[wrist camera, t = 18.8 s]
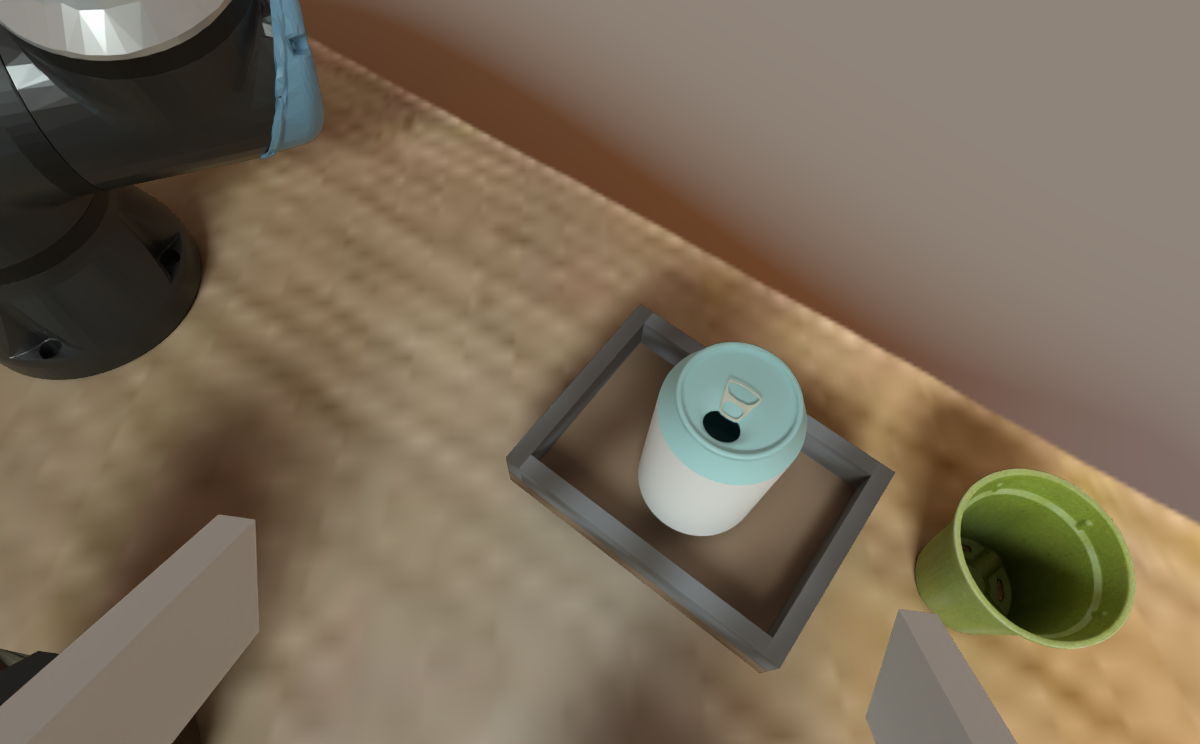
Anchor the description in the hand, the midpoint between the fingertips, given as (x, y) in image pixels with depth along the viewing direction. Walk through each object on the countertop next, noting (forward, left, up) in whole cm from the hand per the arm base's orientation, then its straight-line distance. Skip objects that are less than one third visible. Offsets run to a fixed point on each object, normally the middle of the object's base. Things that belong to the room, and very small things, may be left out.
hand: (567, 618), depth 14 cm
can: (-1, +13, -25) cm, 29 cm away
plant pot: (+16, +20, -30) cm, 39 cm away
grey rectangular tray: (-1, +13, -30) cm, 33 cm away
